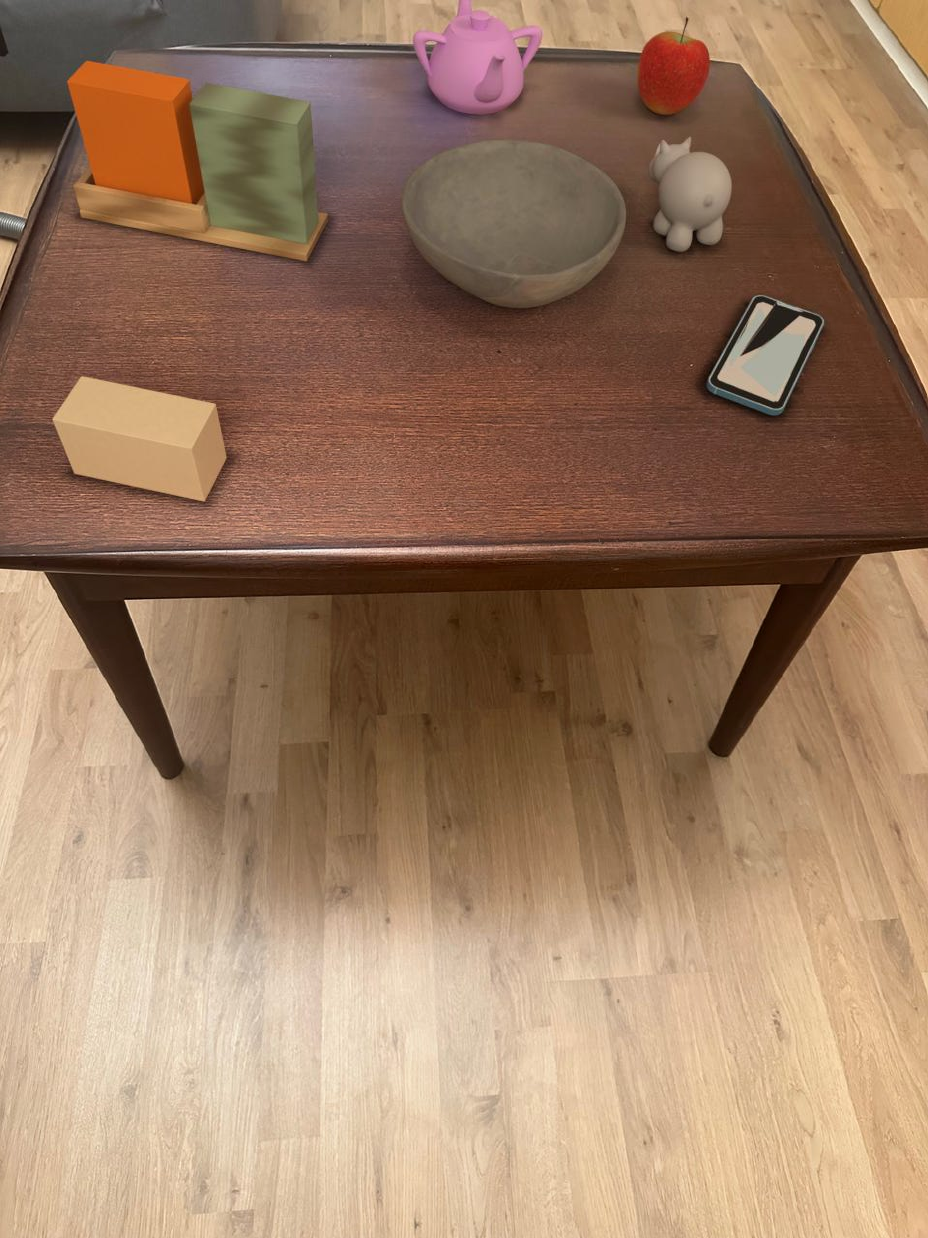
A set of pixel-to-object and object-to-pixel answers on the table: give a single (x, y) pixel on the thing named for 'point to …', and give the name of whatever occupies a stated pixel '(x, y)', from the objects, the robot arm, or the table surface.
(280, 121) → the pad holder
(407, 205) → the bowl
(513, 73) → the teapot
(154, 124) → the orange rectangular block
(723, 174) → the round bodied animal figurine
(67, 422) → the pad riser
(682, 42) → the apple
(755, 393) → the smartphone
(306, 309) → the table surface
